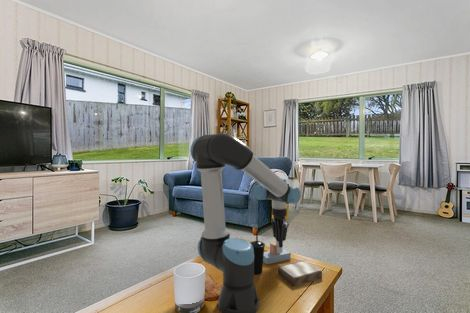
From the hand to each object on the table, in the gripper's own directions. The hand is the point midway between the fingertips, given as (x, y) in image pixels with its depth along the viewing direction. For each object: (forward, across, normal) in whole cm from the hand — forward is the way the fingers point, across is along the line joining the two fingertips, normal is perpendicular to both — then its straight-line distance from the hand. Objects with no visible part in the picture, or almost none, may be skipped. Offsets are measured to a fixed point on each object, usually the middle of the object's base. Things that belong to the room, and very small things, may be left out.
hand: (279, 252), depth 127 cm
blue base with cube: (+5, +4, 0) cm, 6 cm away
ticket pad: (+5, -16, 0) cm, 17 cm away
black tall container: (+5, -4, +16) cm, 18 cm away
